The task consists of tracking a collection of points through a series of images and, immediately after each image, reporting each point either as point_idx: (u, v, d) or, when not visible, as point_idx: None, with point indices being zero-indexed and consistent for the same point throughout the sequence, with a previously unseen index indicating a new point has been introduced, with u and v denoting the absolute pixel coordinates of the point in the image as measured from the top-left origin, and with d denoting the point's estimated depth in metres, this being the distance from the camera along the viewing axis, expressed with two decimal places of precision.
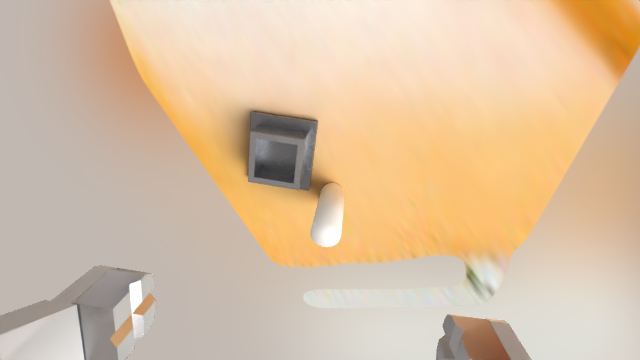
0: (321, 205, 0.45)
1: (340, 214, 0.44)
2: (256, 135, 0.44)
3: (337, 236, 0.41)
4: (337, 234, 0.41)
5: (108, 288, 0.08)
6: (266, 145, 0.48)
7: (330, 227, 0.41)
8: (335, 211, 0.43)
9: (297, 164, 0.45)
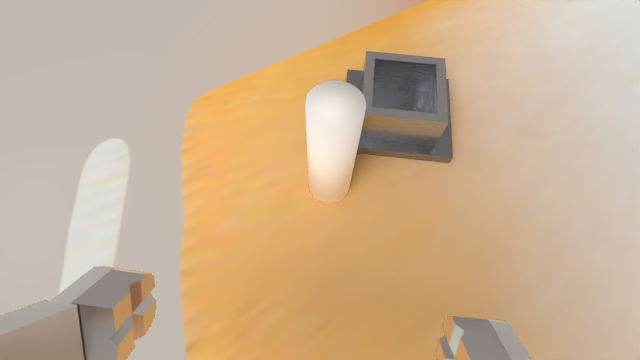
0: None
1: (348, 154, 0.23)
2: (441, 65, 0.31)
3: (332, 123, 0.20)
4: (336, 123, 0.20)
5: (108, 288, 0.08)
6: (404, 93, 0.34)
7: (351, 111, 0.20)
8: (357, 141, 0.23)
9: (405, 112, 0.28)
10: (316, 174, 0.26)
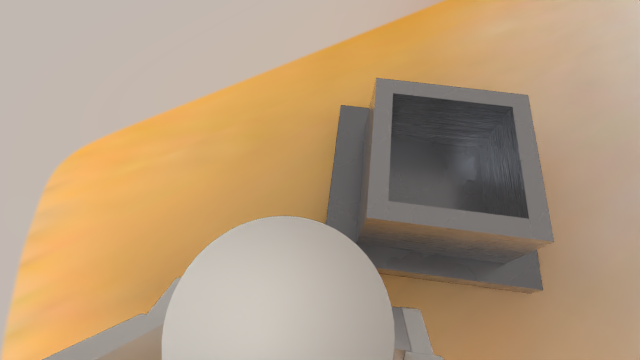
0: None
1: None
2: (522, 108, 0.16)
3: None
4: None
5: None
6: (443, 152, 0.19)
7: None
8: None
9: (460, 215, 0.13)
10: None
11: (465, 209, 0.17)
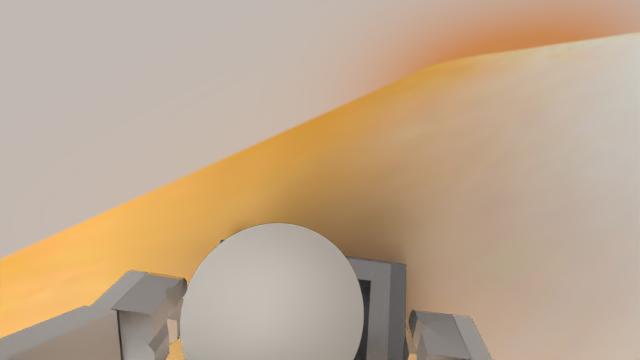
0: None
1: None
2: (381, 282, 0.15)
3: None
4: None
5: (145, 293, 0.08)
6: None
7: (319, 339, 0.07)
8: None
9: None
10: None
11: None
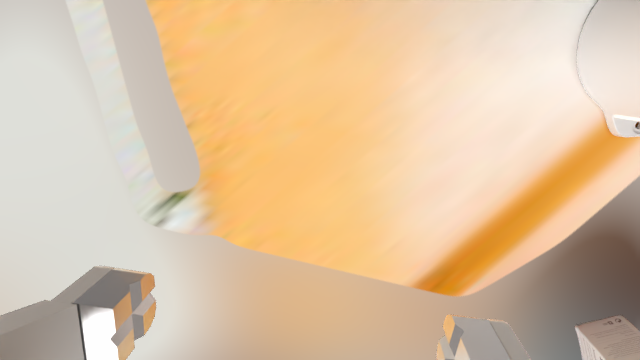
0: None
1: None
2: None
3: None
4: None
5: (108, 288, 0.08)
6: None
7: None
8: None
9: None
10: None
11: None
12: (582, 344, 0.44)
